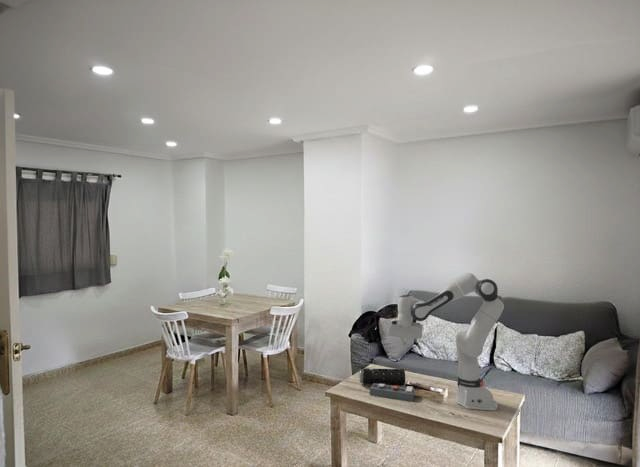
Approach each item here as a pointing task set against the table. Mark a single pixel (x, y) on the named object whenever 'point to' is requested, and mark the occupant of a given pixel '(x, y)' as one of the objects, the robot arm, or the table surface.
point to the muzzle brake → (382, 376)
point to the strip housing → (392, 392)
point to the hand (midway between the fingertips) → (405, 344)
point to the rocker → (409, 389)
